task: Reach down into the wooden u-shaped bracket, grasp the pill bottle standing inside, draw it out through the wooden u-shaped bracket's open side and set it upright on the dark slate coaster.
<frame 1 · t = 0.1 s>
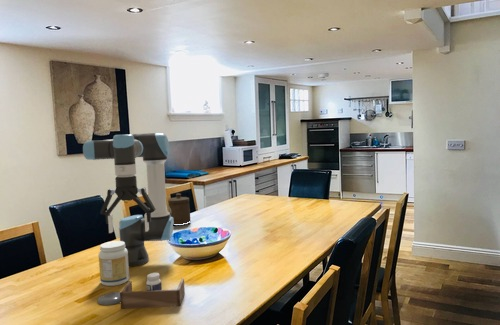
hand: (129, 231, 150), 28 cm above the table, fingers open, 13 cm apart
supplement tub: (115, 281, 175), on the table
wooden u-shaped bracket: (154, 300, 154), on the table
pill bottle: (154, 299, 155), on the table
coaster: (112, 299, 156), on the table
wooden container: (180, 224, 282), on the table
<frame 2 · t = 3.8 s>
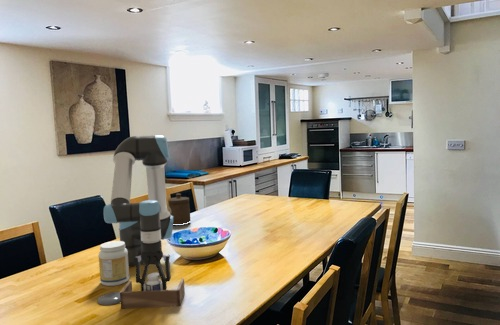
hand: (154, 298, 154), 0 cm above the table, fingers closed on pill bottle, 6 cm apart
pill bottle: (154, 299, 155), on the table, touching gripper
everything else where it was.
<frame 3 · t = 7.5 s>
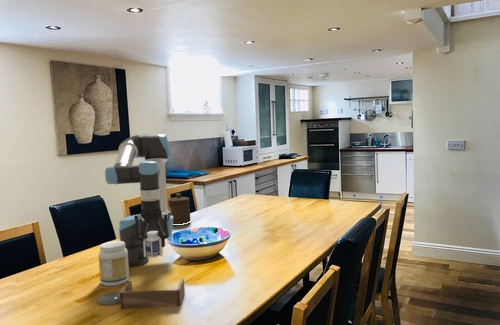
hand: (153, 255, 163), 15 cm above the table, fingers closed on pill bottle, 6 cm apart
pill bottle: (153, 256, 163), point 14 cm above the table, touching gripper
everything else where it was.
when the fingers open (2 cm above the table, at t = 11.1 s): pill bottle drops 1 cm, resting on coaster.
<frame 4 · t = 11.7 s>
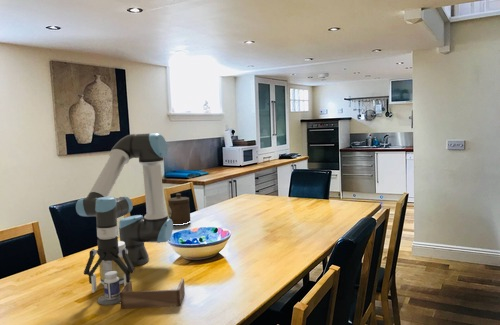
hand: (110, 290, 156), 3 cm above the table, fingers open, 12 cm apart
pill bottle: (112, 297, 156), resting on coaster
everything else where it was.
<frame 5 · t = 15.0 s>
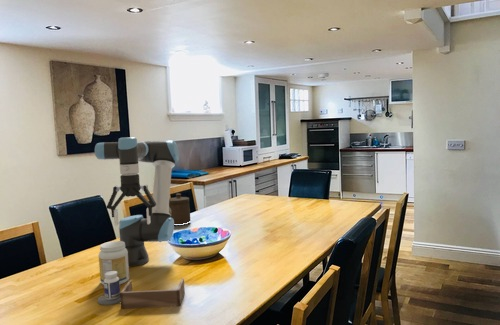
hand: (132, 224, 167), 27 cm above the table, fingers open, 13 cm apart
nothing on the table moved.
at the end: pill bottle inside the target area on the coaster (0.3 cm from its centre), point 0.4 cm above the coaster's base; pill bottle tilted 0°; the gripper is holding nothing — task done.
